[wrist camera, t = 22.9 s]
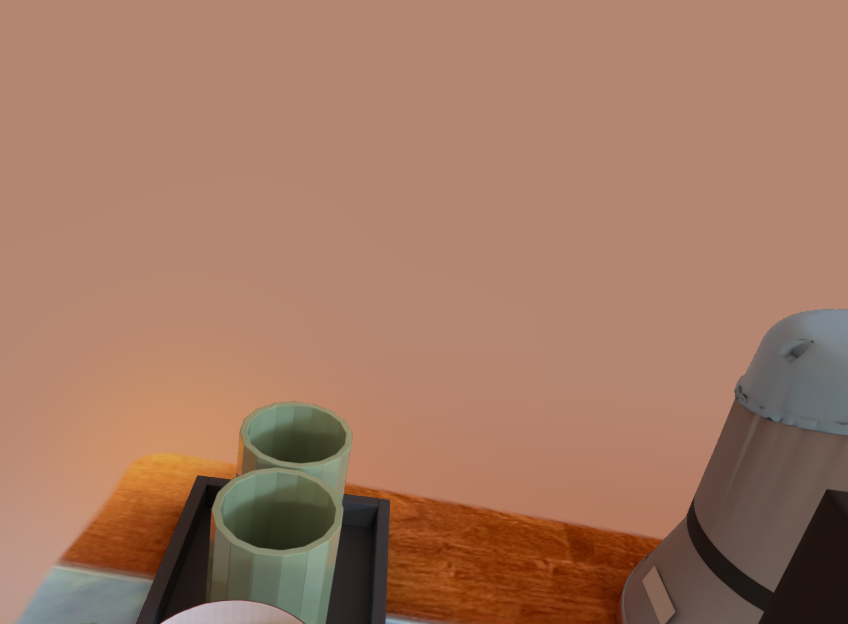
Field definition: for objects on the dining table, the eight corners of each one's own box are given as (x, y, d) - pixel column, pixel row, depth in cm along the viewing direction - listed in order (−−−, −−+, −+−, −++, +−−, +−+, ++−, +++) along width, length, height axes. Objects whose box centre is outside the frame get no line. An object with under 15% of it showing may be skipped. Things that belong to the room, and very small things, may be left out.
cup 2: (326, 608, 44) (347, 476, 40) (313, 705, 39) (337, 562, 34) (218, 596, 44) (228, 460, 40) (189, 693, 38) (197, 546, 34)
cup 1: (336, 532, 50) (355, 409, 46) (326, 606, 44) (347, 473, 40) (241, 520, 50) (252, 395, 45) (219, 593, 44) (229, 458, 40)
